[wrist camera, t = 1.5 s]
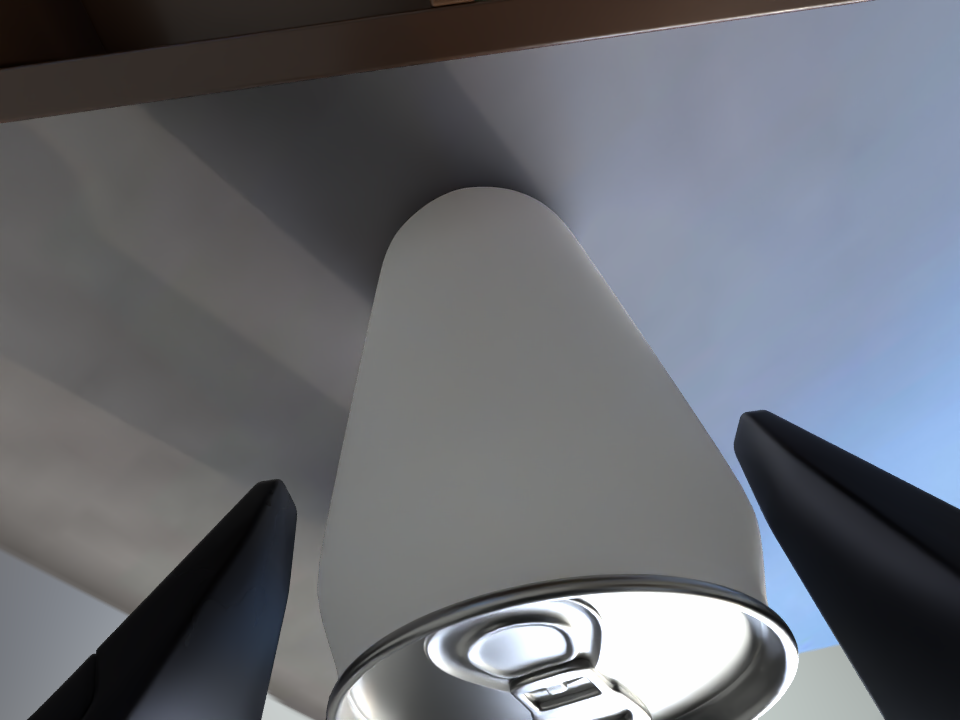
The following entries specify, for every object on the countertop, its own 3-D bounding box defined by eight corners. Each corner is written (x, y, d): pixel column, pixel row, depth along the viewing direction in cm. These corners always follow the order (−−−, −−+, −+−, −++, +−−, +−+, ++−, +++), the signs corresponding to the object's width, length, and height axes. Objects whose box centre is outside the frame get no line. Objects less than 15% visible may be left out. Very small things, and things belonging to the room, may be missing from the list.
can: (533, 138, 13) (821, 456, 3) (606, 317, 17) (852, 728, 7) (339, 246, 15) (142, 700, 5) (443, 391, 18) (455, 827, 8)
